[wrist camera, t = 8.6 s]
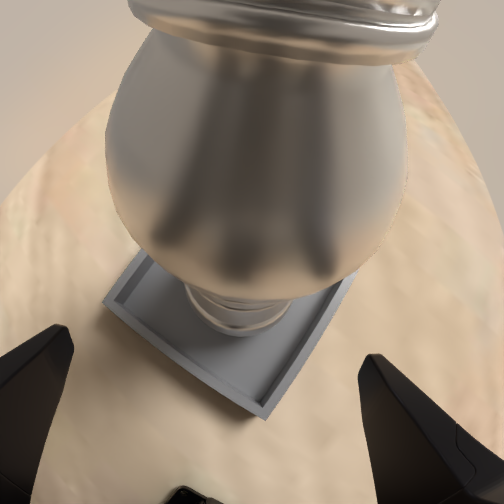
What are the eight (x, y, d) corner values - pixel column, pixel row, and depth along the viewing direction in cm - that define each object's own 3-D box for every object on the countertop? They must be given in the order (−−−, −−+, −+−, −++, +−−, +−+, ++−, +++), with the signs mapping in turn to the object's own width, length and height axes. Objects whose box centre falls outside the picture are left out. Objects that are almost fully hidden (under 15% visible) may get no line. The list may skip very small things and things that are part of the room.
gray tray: (261, 413, 18) (265, 420, 16) (114, 307, 19) (101, 302, 17) (353, 265, 22) (365, 256, 19) (216, 178, 23) (215, 160, 21)
